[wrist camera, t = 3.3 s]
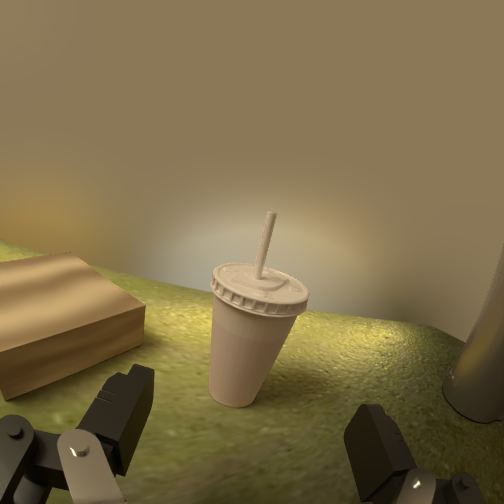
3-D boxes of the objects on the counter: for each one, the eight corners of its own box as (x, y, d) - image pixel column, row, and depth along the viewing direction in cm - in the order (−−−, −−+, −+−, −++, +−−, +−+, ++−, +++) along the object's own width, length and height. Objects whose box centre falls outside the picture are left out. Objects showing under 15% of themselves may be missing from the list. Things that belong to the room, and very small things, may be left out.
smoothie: (178, 372, 21) (209, 196, 18) (243, 361, 25) (284, 208, 22) (216, 430, 17) (271, 221, 13) (287, 406, 20) (351, 233, 17)
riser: (142, 343, 24) (145, 304, 23) (5, 400, 12) (-11, 355, 11) (69, 283, 30) (70, 251, 29) (-33, 306, 17) (-38, 269, 16)
